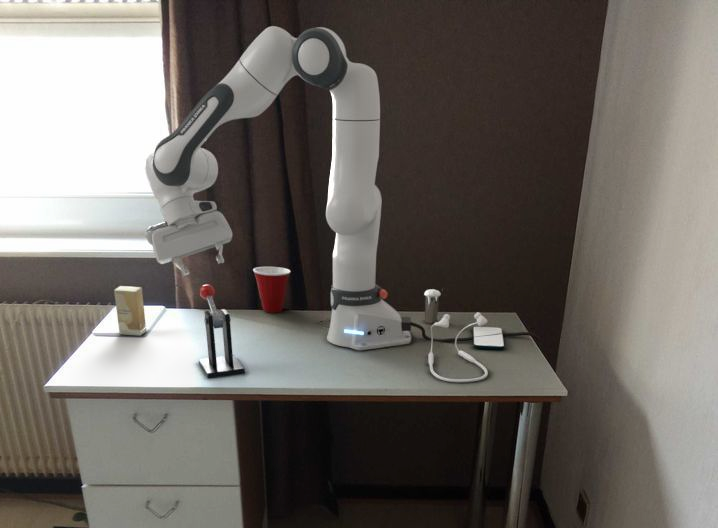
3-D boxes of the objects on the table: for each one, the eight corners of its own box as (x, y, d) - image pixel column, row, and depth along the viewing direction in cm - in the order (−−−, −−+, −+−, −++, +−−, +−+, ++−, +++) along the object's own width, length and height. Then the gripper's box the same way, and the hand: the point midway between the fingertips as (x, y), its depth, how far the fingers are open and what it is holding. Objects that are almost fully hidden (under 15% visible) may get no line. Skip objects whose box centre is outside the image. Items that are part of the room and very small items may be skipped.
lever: (198, 293, 184) (198, 281, 181) (212, 292, 185) (213, 280, 182) (211, 330, 177) (211, 319, 175) (226, 329, 179) (226, 317, 176)
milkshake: (440, 325, 212) (443, 289, 207) (421, 323, 213) (423, 288, 208) (442, 320, 216) (444, 285, 211) (423, 319, 217) (425, 284, 212)
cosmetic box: (119, 334, 204) (112, 289, 198) (125, 329, 208) (119, 285, 202) (141, 336, 204) (135, 291, 197) (147, 331, 207) (141, 286, 201)
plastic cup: (299, 309, 225) (298, 268, 219) (273, 317, 218) (271, 275, 212) (273, 302, 231) (271, 262, 225) (247, 310, 224) (245, 269, 218)
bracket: (198, 363, 186) (193, 308, 179) (234, 359, 189) (230, 304, 182) (207, 378, 178) (202, 321, 171) (244, 373, 181) (240, 316, 174)
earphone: (467, 335, 193) (490, 306, 175) (476, 397, 191) (500, 374, 173) (416, 338, 191) (434, 309, 173) (424, 401, 189) (443, 378, 171)
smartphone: (472, 329, 209) (473, 348, 195) (472, 326, 209) (473, 345, 195) (501, 331, 208) (504, 350, 195) (502, 327, 208) (504, 346, 194)
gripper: (142, 224, 184) (165, 277, 185) (220, 199, 189) (242, 251, 190) (142, 233, 190) (164, 285, 191) (217, 209, 195) (239, 260, 196)
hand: (204, 268), depth 191 cm, fingers open, 8 cm apart
